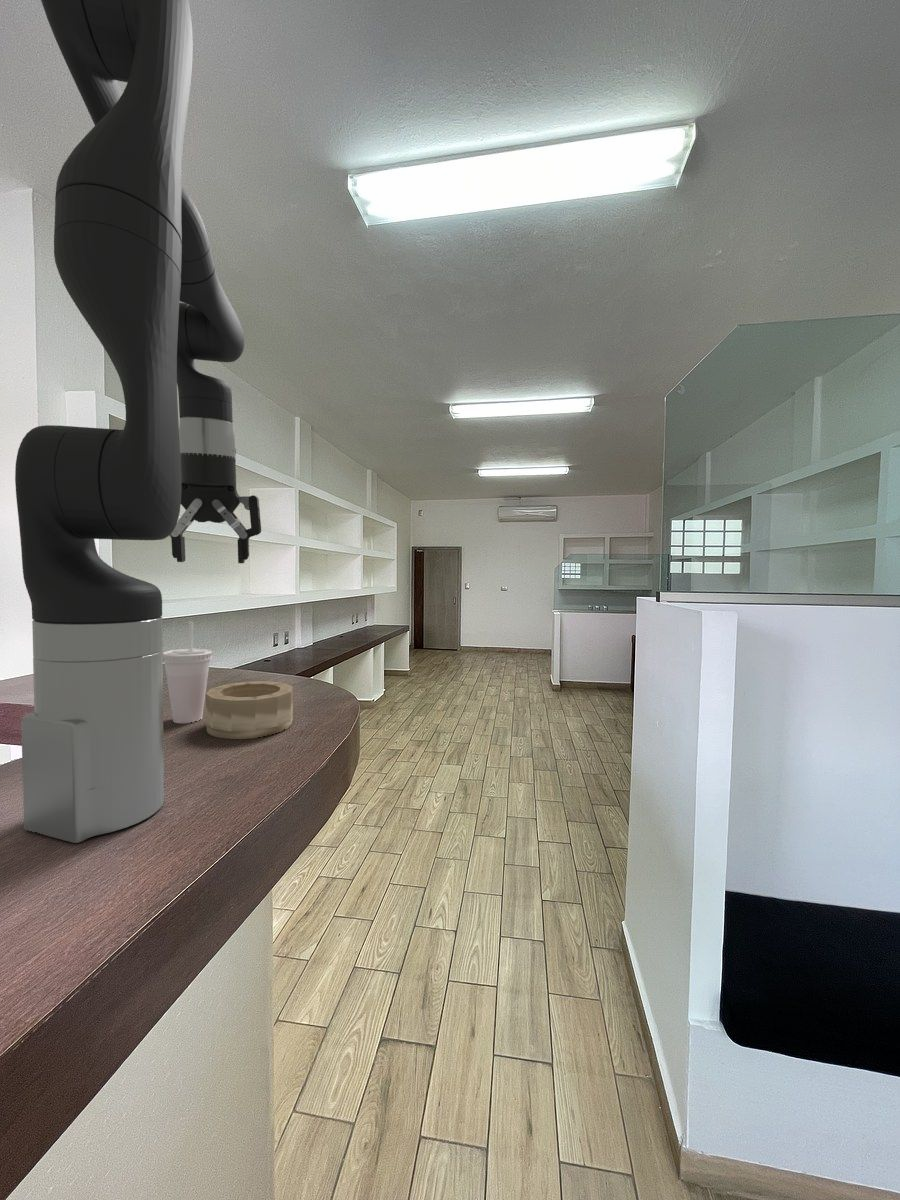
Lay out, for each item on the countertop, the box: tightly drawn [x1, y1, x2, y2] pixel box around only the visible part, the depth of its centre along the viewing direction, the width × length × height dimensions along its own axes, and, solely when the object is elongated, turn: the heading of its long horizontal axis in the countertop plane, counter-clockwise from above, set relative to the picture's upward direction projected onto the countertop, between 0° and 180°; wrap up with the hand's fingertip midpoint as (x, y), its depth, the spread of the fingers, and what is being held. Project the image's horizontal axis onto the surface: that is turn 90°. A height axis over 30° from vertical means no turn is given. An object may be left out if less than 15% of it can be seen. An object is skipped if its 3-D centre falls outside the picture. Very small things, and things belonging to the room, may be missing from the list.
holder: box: [205, 680, 294, 740], centre depth 70 cm, size 11×11×5 cm
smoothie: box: [163, 620, 213, 724], centre depth 72 cm, size 6×6×14 cm
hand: (212, 562), depth 78 cm, fingers open, 8 cm apart
